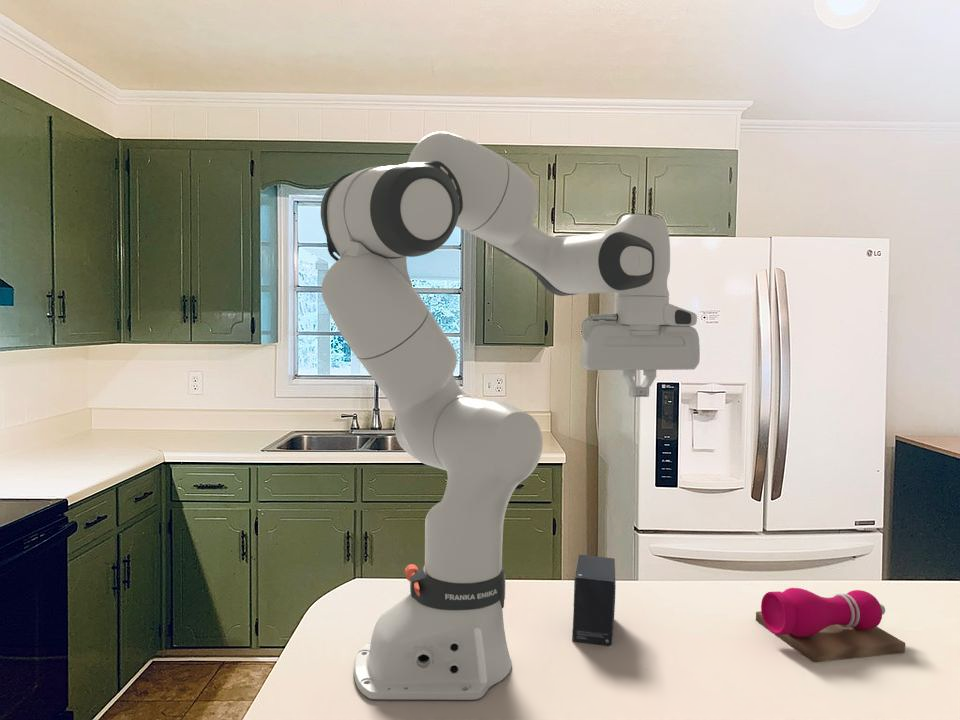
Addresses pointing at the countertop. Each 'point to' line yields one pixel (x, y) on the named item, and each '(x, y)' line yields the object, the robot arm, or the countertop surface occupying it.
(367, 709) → the countertop surface
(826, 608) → the pepper mill
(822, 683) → the countertop surface
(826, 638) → the walnut board
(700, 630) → the countertop surface
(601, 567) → the small box
